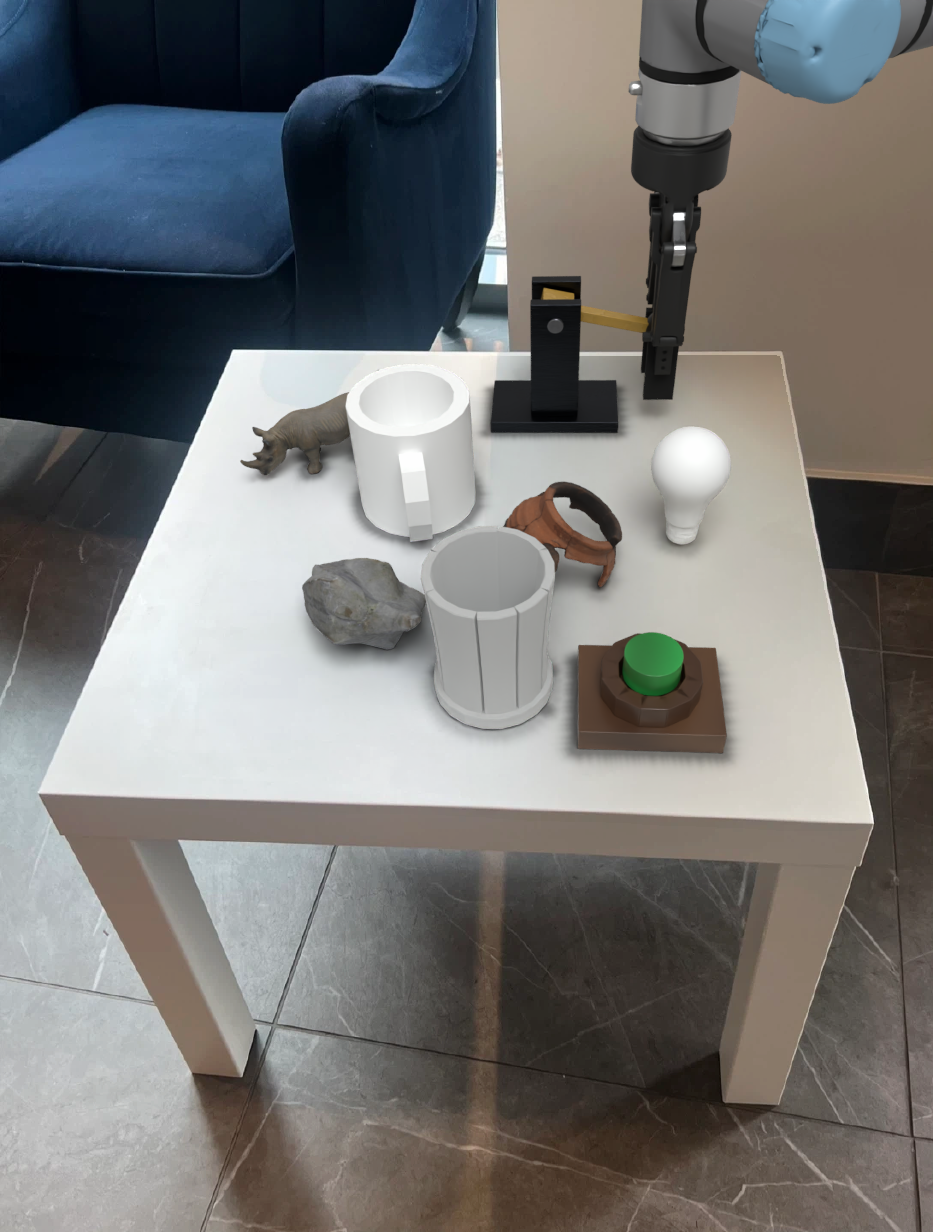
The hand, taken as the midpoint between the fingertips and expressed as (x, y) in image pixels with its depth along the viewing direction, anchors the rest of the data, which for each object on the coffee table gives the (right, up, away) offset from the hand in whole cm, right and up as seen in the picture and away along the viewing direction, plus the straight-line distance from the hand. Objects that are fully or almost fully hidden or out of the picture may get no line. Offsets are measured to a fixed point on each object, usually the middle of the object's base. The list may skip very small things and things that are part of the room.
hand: (656, 383), depth 95 cm
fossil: (-25, -24, -16) cm, 38 cm away
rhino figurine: (-32, -8, 0) cm, 33 cm away
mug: (-22, -12, -5) cm, 26 cm away
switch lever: (-5, +4, -3) cm, 7 cm away
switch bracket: (-9, -2, +3) cm, 10 cm away
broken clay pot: (-11, -19, -12) cm, 25 cm away
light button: (-5, -26, -25) cm, 36 cm away
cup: (-17, -27, -19) cm, 37 cm away
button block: (-5, -28, -22) cm, 36 cm away
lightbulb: (0, -16, -10) cm, 19 cm away
